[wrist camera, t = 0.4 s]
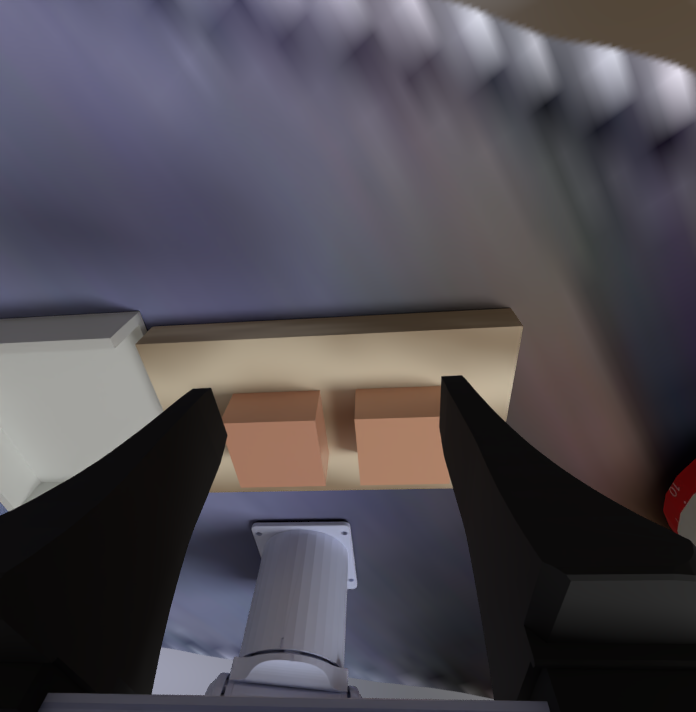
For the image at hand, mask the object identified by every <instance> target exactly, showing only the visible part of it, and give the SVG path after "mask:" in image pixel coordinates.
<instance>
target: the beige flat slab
mask: <svg viewBox="0 0 696 712" xmlns="http://www.w3.org/2000/svg"><path fill="white" fill-rule="evenodd" d="M522 330H523V325H522V324H521V322H520V321H519V319H518V318H517V316H516V315H515V314H514V312H513V311H512V309H511V308H505V309H486V310H466V311H447V312H427V313H408V314H388V315H369V316H349V317H330V318H310V319H291V320H271V321H252V322H233V323H213V324H194V325H174V326H155V327H152V328H151V329H150V330H149V331H148V332H147V333H146V334H145V335H144V336H143V337H142V338H141V339H140V340H139V341H138V342H137V343H136V344H135V345H136V348H137V350H138V352H139V355H140V357H141V359H142V362H143V364H144V366H145V369H146V371H147V373H148V376H149V378H150V380H151V383H152V385H153V387H154V390H155V392H156V394H157V397H158V399H159V401H160V404H161V406H162V408H163V411H165V410H166V409H167V408H168V407H169V406H171V405H172V404H173V403H174V402H176V401H177V400H178V399H179V398H181V397H182V396H183V395H185V394H186V393H187V392H189V391H190V390H192V389H196V388H211V389H212V391H213V394H214V397H215V400H216V403H217V406H218V409H219V412H220V415H221V418H222V417H223V414H224V412H225V410H226V408H227V406H228V404H229V401H230V399H231V397H232V395H233V394H235V393H262V392H289V391H316V390H320V394H321V400H322V407H323V414H324V421H325V428H326V435H327V441H328V448H329V461H328V470H327V479H326V486H303V487H249V488H241V486H240V484H239V481H238V478H237V475H236V472H235V469H234V466H233V463H232V460H231V457H230V454H229V451H228V448H227V445H226V444H225V449H224V453H223V456H222V460H221V464H220V466H219V469H218V471H217V474H216V476H215V479H214V481H213V484H212V486H211V489H210V491H209V492H263V491H320V490H377V489H434V488H453V486H452V483H451V480H450V483H449V484H412V485H360V475H359V464H358V453H357V442H356V431H355V420H354V417H355V393H356V389H370V388H397V387H424V386H441V376H457V375H462V376H463V377H464V378H465V379H466V380H467V381H468V382H469V383H470V384H471V386H472V387H473V388H474V389H475V390H476V391H477V393H478V394H479V395H480V396H481V397H482V398H483V399H484V400H485V401H486V403H487V404H488V405H489V406H490V407H491V408H492V409H493V410H494V411H495V412H496V413H497V414H498V415H499V416H500V417H501V418H502V419H503V420H504V421H505V422H506V418H507V412H508V407H509V401H510V396H511V390H512V385H513V379H514V374H515V368H516V363H517V357H518V352H519V346H520V341H521V335H522Z"/></svg>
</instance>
